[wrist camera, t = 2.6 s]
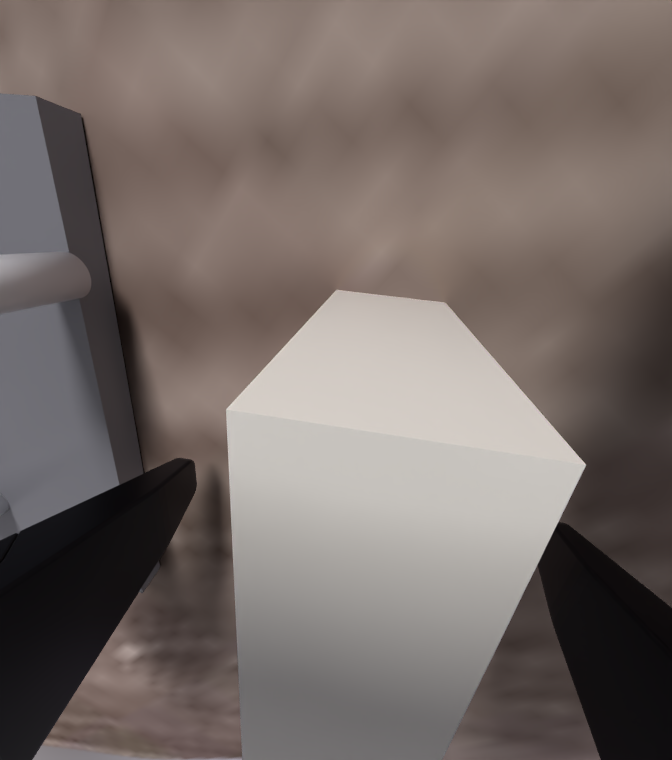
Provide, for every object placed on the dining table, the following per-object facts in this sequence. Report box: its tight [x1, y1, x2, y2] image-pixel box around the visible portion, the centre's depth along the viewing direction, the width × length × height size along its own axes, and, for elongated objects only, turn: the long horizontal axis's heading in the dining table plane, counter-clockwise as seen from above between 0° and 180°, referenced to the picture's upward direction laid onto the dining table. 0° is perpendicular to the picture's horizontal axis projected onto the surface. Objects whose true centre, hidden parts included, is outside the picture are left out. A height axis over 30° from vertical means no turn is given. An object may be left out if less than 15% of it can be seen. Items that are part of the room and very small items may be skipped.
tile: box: [226, 290, 586, 760], centre depth 7 cm, size 2×10×6 cm, turn 174°
